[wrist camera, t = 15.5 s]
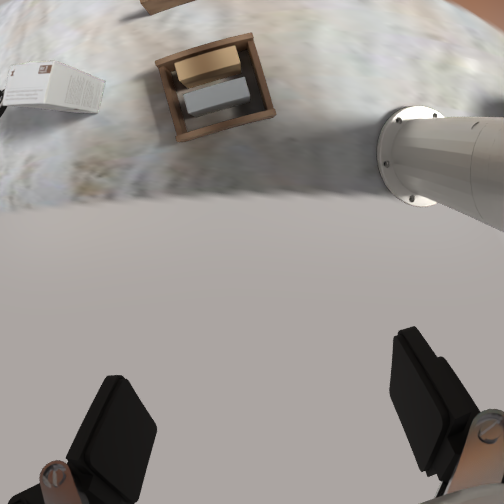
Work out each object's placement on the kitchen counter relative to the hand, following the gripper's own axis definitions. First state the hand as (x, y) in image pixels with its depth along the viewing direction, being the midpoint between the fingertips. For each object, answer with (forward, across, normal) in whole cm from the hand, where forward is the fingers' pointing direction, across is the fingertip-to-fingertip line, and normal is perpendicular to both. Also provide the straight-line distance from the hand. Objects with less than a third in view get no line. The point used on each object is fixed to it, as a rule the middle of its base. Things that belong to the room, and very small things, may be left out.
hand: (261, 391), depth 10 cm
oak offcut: (+27, +2, -16) cm, 32 cm away
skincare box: (+27, +17, -19) cm, 37 cm away
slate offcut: (+27, +1, -13) cm, 30 cm away
